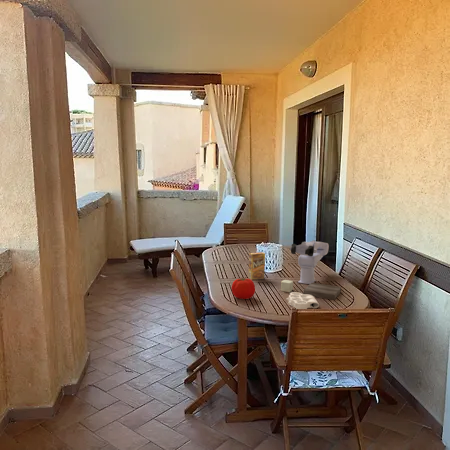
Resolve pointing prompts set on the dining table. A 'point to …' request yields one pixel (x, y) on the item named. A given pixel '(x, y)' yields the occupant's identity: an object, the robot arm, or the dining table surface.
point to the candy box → (256, 265)
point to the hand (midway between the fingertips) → (298, 251)
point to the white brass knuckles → (302, 300)
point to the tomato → (243, 288)
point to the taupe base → (322, 291)
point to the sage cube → (287, 285)
